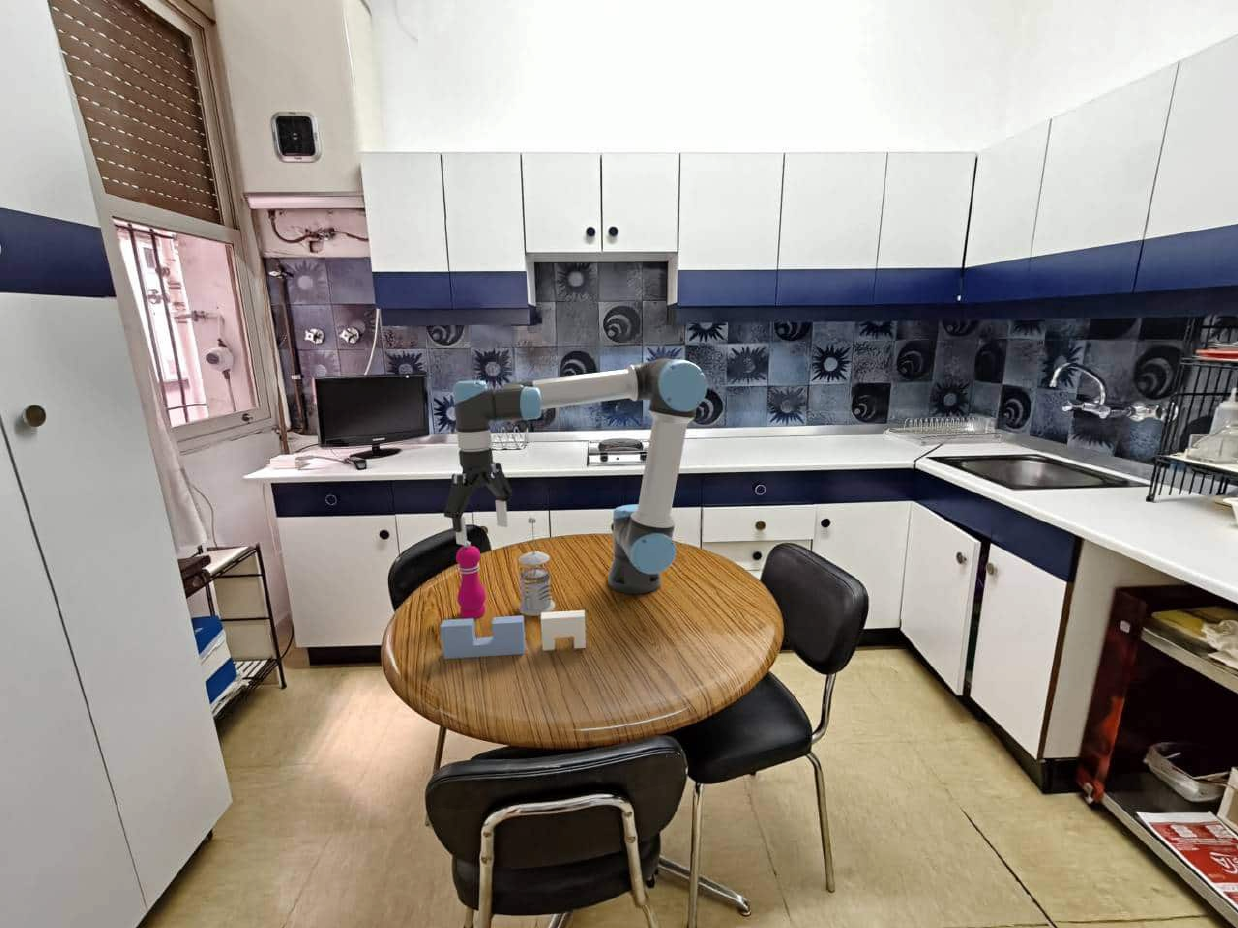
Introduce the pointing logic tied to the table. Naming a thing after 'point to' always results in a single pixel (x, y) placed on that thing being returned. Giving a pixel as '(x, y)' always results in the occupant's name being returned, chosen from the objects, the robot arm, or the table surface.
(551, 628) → the white notched block
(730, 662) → the table surface
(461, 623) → the blue batten
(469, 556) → the pepper mill
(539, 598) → the french press
